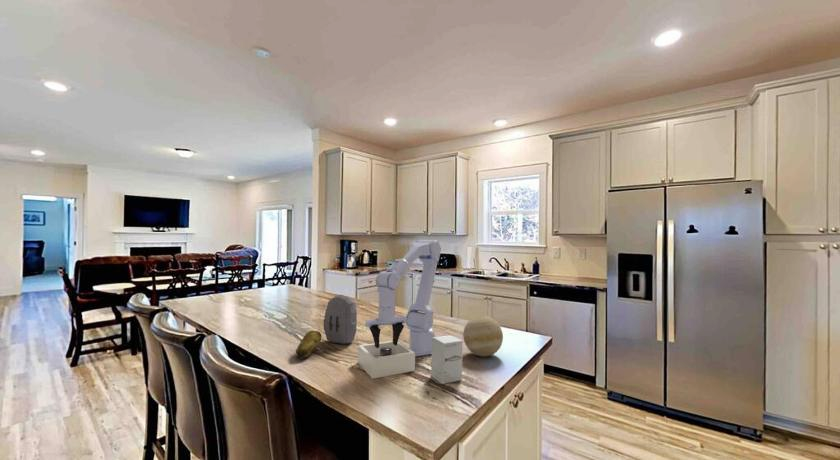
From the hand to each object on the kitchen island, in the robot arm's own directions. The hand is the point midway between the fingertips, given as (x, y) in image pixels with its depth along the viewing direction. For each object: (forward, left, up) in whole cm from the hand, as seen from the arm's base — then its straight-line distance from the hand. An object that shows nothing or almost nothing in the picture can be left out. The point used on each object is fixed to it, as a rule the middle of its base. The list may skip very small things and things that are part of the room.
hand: (386, 345), depth 117 cm
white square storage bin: (0, 0, -7) cm, 7 cm away
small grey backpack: (+8, -32, -7) cm, 34 cm away
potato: (+22, -23, -7) cm, 33 cm away
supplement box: (-14, +17, -7) cm, 23 cm away
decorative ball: (-38, +5, -7) cm, 39 cm away
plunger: (0, 0, -6) cm, 6 cm away
